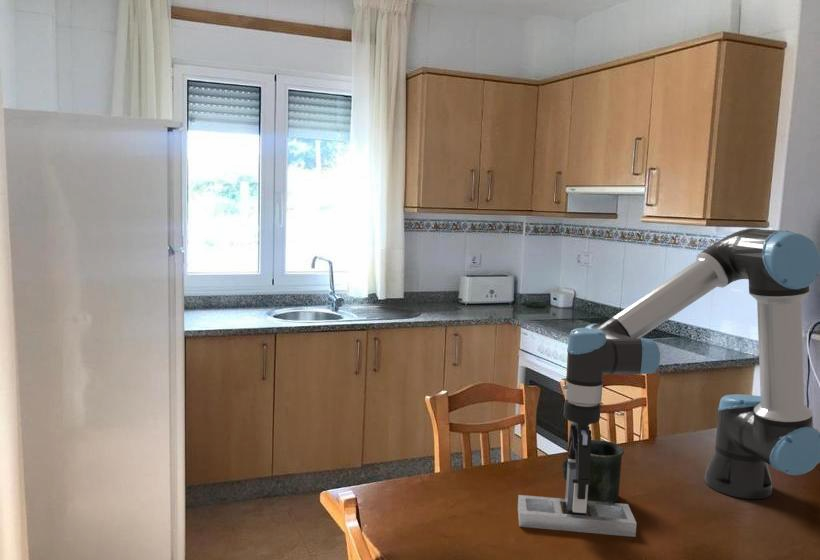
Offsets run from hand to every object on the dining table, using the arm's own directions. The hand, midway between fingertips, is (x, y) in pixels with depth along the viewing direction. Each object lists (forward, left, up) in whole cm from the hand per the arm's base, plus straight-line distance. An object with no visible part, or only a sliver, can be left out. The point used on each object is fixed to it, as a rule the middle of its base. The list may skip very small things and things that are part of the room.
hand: (575, 499), depth 147 cm
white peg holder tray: (0, 0, -5) cm, 5 cm away
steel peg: (0, 0, -4) cm, 4 cm away
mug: (-5, -13, -5) cm, 15 cm away
